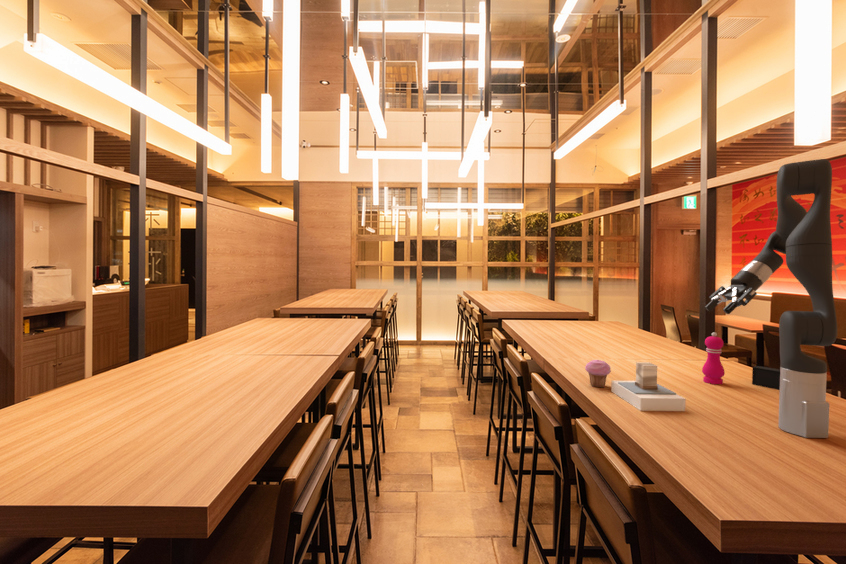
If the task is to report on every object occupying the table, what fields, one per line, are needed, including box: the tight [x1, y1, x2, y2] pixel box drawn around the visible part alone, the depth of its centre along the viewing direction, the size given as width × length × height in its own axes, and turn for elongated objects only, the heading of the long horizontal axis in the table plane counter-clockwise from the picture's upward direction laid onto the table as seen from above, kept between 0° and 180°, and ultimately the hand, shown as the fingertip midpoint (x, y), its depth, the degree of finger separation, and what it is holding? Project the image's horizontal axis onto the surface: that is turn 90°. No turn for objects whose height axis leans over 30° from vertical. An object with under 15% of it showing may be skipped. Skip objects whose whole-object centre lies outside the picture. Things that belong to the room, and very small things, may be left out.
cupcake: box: [584, 359, 612, 388], centre depth 152 cm, size 9×9×10 cm
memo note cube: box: [635, 361, 658, 390], centre depth 135 cm, size 5×5×8 cm
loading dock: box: [610, 379, 687, 412], centre depth 135 cm, size 20×14×4 cm
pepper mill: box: [701, 331, 726, 385], centre depth 157 cm, size 7×7×20 cm
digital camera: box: [751, 365, 780, 391], centre depth 152 cm, size 10×5×7 cm, turn 32°
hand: (716, 310), depth 135 cm, fingers open, 8 cm apart
